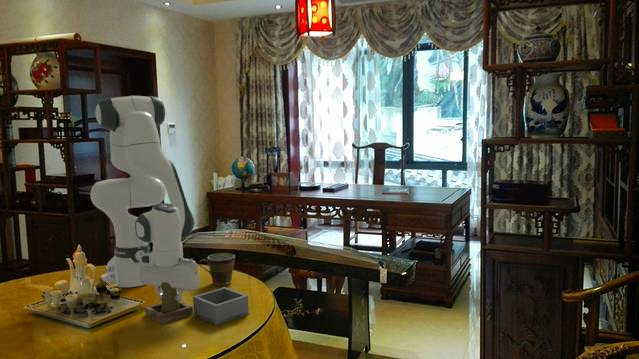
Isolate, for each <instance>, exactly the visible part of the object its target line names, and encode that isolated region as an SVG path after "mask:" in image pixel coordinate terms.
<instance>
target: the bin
mask: <svg viewBox="0 0 639 359" xmlns="http://www.w3.org/2000/svg"><path fill="white" fill-rule="evenodd" d="M192 303H193V306H192V307H193V316H195V317H197V318H199V319H201V320H203V321H205V322H208V323H209V322H210V323H209V324H212V325H213V324H214V326H215V327H217V326H220V325H223V324H226V323H229V322H231V321H234V320H237V319H240V318H242V317H245V316H248V315H250V314H249V311H250V310H249V308H250V307H249V295H248V294H245V293H242V292H240V291H237V290H234V289H232V288H230V287H226V286H223V287H221V288H218V289H214V290H211V291H208V292H203V293H201V294H197V295H193V297H192ZM228 321H229V322H228ZM225 322H226V323H225Z"/></svg>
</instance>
